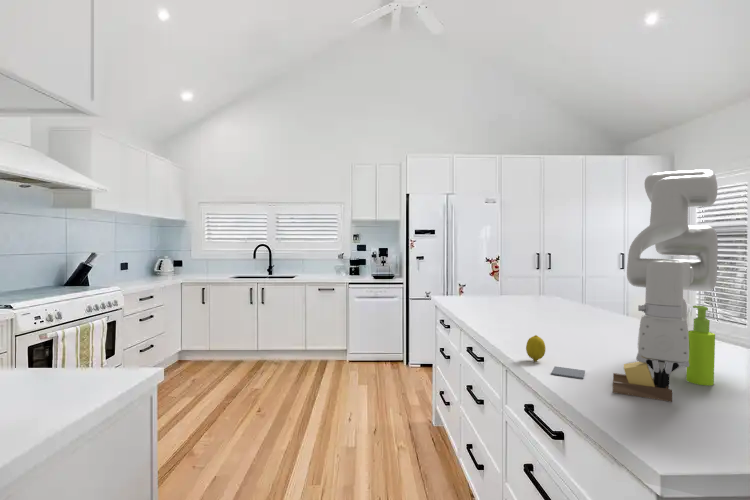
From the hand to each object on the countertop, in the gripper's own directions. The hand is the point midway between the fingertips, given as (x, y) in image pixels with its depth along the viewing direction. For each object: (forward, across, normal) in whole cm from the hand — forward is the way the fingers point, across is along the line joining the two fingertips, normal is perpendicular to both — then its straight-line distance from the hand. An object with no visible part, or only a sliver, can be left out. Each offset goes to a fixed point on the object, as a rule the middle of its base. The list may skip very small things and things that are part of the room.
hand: (661, 388), depth 107 cm
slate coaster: (+2, -21, +8) cm, 23 cm away
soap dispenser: (+2, +10, +18) cm, 21 cm away
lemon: (+2, -31, +17) cm, 35 cm away
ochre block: (+1, -4, 0) cm, 4 cm away
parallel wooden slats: (+2, -4, 0) cm, 5 cm away
